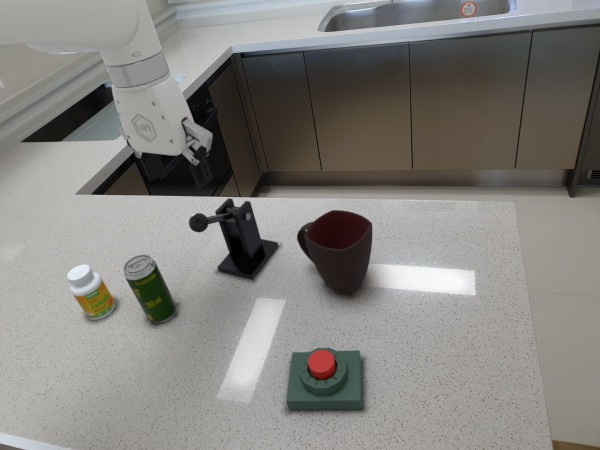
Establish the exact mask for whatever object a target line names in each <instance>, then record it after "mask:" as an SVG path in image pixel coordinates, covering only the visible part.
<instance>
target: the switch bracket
mask: <svg viewBox="0 0 600 450" xmlns="http://www.w3.org/2000/svg"><path fill="white" fill-rule="evenodd" d="M234 206H236V205H235V203H234V199H233V198H230V197H229V198H227V199H226V200H225V201H224V202H223V203H222V204H221V205H219V207H217V208H216V210H215V211H214V213H215V215H219V214H223V213H226V208H229V207H234ZM239 207H240V208H239V209H238V210H237V211H236V212H235V213H234V214H233V217H234V220H235V223H234V222H228V221H226V220H225V221H220V222H218V224H219V227H220V230H221V233H222V236H223V239H224V242H225V244H226V248H227V251H228V254H227V255H226V257H224V259H223V260H222V261H221V262H220V263H219V265H217V271H218V272H220V273H223V274H226V275H231V276H235V277H239V278H243V279H245V280H246V279H247V280H251V281H254V279H255V278H256V277H257V276H258V274H259V273H260V271H261V270H262V269H263V267H264V266H265V265H266V264H267V262H268V261H269V260H270V259H271V257H272V256H273V254H274V253H275V252H276V251H277V250H278V248H279V243H278V241H274V240H268V239H265V238H264V239H263V238H262V237H261V234H260V230H259V227H258V224H257V220H256V217H255V213H254V210H253V206H252V202H251V201H249V200H245V201H244V202H243V203H242V204H241V206H239Z"/></svg>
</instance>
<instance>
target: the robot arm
mask: <svg viewBox="0 0 600 450" xmlns="http://www.w3.org/2000/svg"><path fill="white" fill-rule="evenodd" d="M147 3H148V2H147V0H0V46H5V45H25V46H27V47H28V48H30V49H31V50H34V51H37V52H39V53H44V54H49V55H63V54H79V53H87V52H88V53H89V52H99V53H100V56H101V58H102V60H103V63H104V65H105V68H106V71H107V73H108V75H109V78H110V80H111V82H112V85H111V92H112V96H113V102H114V105H115V108H116V112H117V116H118V118H119V121H120V123H121V126H119V127H118V128H117V131H118V133H119V134H120V136H121V137H122V138H123V139H124V140H125V141H126V145H127V146H128V147H129V148H131V149H132V150H133V151H134V155H135V157H136V158H138V159H140V163H141V166H142V168H143V170H144V172H145V174H146V177H147V179H148V181H150V182H154V181H156V179H157V178H159V177H160V176H162V175H163V174H164V173H165V172H166V169H165V167H164V164H163V162H162V159H161V156H160V155H163V156H164V155H165V156H173V157H174V156H175V157H176V156H179V155H183V156H184V157H185V158H186V159H187V160H188V162H190V165H189V170H190V173H191V175H192V178H193V180H194V184H195V186H196V188H197V189H203V188H204V187H205V186H206V185H207V184H208V183H210V182H211V181H212V179H213V174H212V171H211V168H210V164H209V161H208V156H210V153H211V150H212V148H213V146H212V144H213V138H214V135H213V133H212V132H211V131H209V129H206V128H205V127H203V126H201V125H199V124H197V123H196V122H195V121H194V117H193V115H192V112H191V110H190V107H189V105H188V102H187V100H186V97H185V95H184V94H183V91H182V90H181V88H180V85H179V84H178V81H177V79H176V78H175V76H174V75H173V74H171V71H170V69H169V65H168V61H167V59H166V56H165V53H164V50H163V47H162V45H161V41H160V38H159V35H158V33H157V30H156V26H155V24H154V21H153V18H152V15H151V12H150V9H149V5H148V4H147ZM191 147H192V148H193V149H194V150H195V153H194V152H193V151H192V150H191V149H190V148H191Z"/></svg>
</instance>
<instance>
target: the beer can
mask: <svg viewBox="0 0 600 450" xmlns="http://www.w3.org/2000/svg"><path fill="white" fill-rule="evenodd" d="M122 271H123V276H124V278H125V280H126V282H127V284H128V286H129V287H130V289H131V292H132V294H133V295H134V297H135V299H136V301H137V302H138V304H139V305H140V307H141V309H142V311H143V313H144V315H145V317H146V318H147V320H148V321H149V322H151V323H154V324H163V323H166V322H168V321H169V320H171V319H172V318H174V316H175V313H176V310H177V303H176V301H175V300H174V298H173V296H172V294H171V291H170V289H169V288H168V285H167V283H166V281H165V279H164V277H163V275H162V273H161V270H160V269H159V266H158V264H157V262H156V261H155V259H154V258H153V257H152V255H149V254H146V253H144V254H139V255H135V256H133V257H131V258H130V259H128V260H127V261H126V262H125V263H124V265H123V267H122Z"/></svg>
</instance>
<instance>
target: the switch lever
mask: <svg viewBox="0 0 600 450" xmlns="http://www.w3.org/2000/svg"><path fill="white" fill-rule="evenodd" d="M240 207H241V206H236V205H235V206H234V207H229V208H226V213H223V214H219V215H216V214H215V215H211V216H206V214H204V213H201V212H196V213H193V214H192V215H191V216H190V217H189V219H188V227H189V229H190V230H191V231H192V232H195V233H203V232H205V231H206V230H208V227H209V225H211V224H216V223H219V222H220V221H225V220H226V221H228V222H234V223H235V220H234V217H233V214H234V213H235V212H236V211H237V210H238V209H239V208H240Z"/></svg>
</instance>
